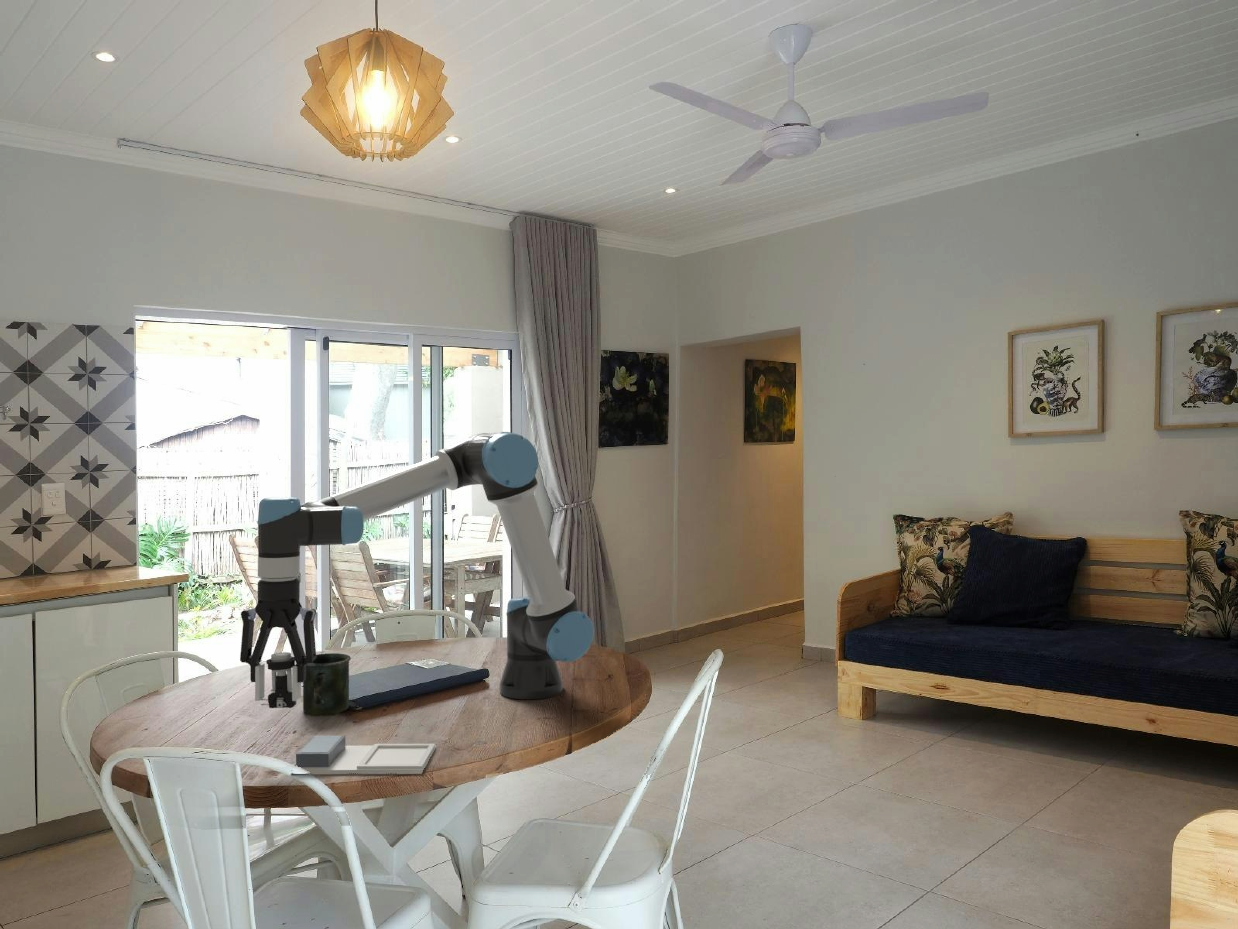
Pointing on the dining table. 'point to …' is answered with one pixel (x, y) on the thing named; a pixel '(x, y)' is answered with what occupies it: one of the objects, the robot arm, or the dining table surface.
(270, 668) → the push button
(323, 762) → the blue-grey rectangular block
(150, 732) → the dining table surface
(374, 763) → the board
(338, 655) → the mug
